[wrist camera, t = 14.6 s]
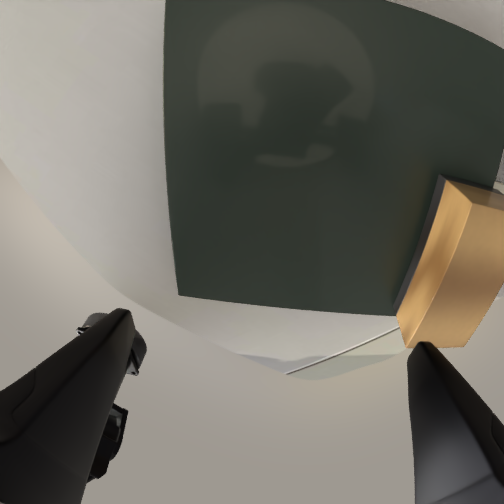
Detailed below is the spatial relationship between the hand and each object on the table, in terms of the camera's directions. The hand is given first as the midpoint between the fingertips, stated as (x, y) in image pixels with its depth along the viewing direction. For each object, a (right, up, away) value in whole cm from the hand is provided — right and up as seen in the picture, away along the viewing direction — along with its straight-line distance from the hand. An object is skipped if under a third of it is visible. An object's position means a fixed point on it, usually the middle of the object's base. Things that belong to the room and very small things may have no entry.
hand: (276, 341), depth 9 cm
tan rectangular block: (+12, +3, +8) cm, 15 cm away
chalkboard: (+4, +8, +8) cm, 12 cm away
